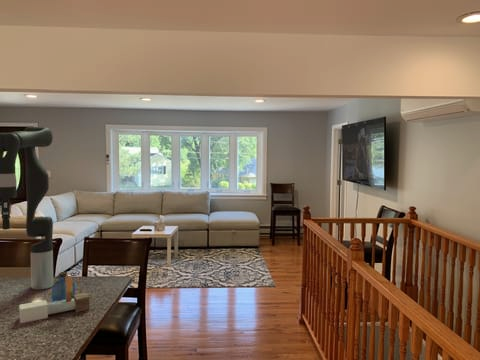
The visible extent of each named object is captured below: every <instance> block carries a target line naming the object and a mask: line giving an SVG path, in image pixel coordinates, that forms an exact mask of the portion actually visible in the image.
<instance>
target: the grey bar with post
mask: <svg viewBox="0 0 480 360" xmlns="http://www.w3.org/2000/svg"><path fill="white" fill-rule="evenodd" d="M65 277H66V299H65V300H60V301H55V302H52V301H50V302H47V308H48V315H53V314H57V313H63V312H67V311H73V310H75V309H76V300H75V298H73V296H72V282H73V275H72V274H67V275H66V276H65Z"/></svg>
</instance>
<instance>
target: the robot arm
mask: <svg viewBox="0 0 480 360" xmlns="http://www.w3.org/2000/svg"><path fill="white" fill-rule="evenodd" d="M52 142H53V132H52V131H51V129H50V128H48V127H46V126H45V127H44V126H27V127H25V128H24V131H22V130H21V131H10V132H0V152H3V153H4V152H5V155H4V156H3V157H0V199H1V200H0V215H1V220H2V230H10V228H11V227H10V222H11V221H10V220H11V214H12V208H13V207H12V205H13V204H12V202H11V201H10V199H15V198H17V196H18V194H17V193H18V192H17V191H18V189H17V175H16V162H17V157H18V154H19V151H20V149H24V155H25V156H24V157H25V192H26V217H25V218H26V220H25V221H26V222H25V224H26V225H25V231H26V235H27V236H28V237H29V238H39V237H42V238H43V237H44V238H43V239H42V240H41V241H39V242H37V243H34V244H31V246H30V284H31V285H30V286H31V289H32V290H45V289H49V288H52V287H53V285H54V256H53V255H54V252H53V250H54V249H53V248H54V247H53V245H54V244H53V243H54V242H53V234H54V233H53V232H54V221H53V219H52V217H51V216H36V211H37V208H38V207H39V205H40V203H41V201H42V200H43V199H44V198H45V196H46V194H47V193H48V191H49V186H50V184H49V183H50V182H49V181H50V180H49V173H48V171H47V170H46V169H45V167H44V165H43V164H42V163H41V162H40V160H39V158H38V155H37V153H36V148H47V147H49V146H51V144H52Z"/></svg>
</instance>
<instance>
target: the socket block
mask: <svg viewBox="0 0 480 360" xmlns="http://www.w3.org/2000/svg"><path fill="white" fill-rule="evenodd" d="M74 298H75V300H76V309H74V311H75V312H76V313H78V312H82V311H89V310H90V295H89V294H88V293H87V292H83V293H77V294H75V295H74Z"/></svg>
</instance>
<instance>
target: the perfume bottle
mask: <svg viewBox="0 0 480 360" xmlns="http://www.w3.org/2000/svg"><path fill="white" fill-rule="evenodd" d="M58 275H59V276H58V279H59V280H57V281H55V282H54V283H53V286H52V287H51V302H55V301H60V300H65V299H66V277H65V276H66V275H68V272H67V271H62V272H59V273H58ZM75 287H76V286H75V284H74V281H72V296H73V298H74V295H76V294H75V292H76V291H75V290H76V289H75Z"/></svg>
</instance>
